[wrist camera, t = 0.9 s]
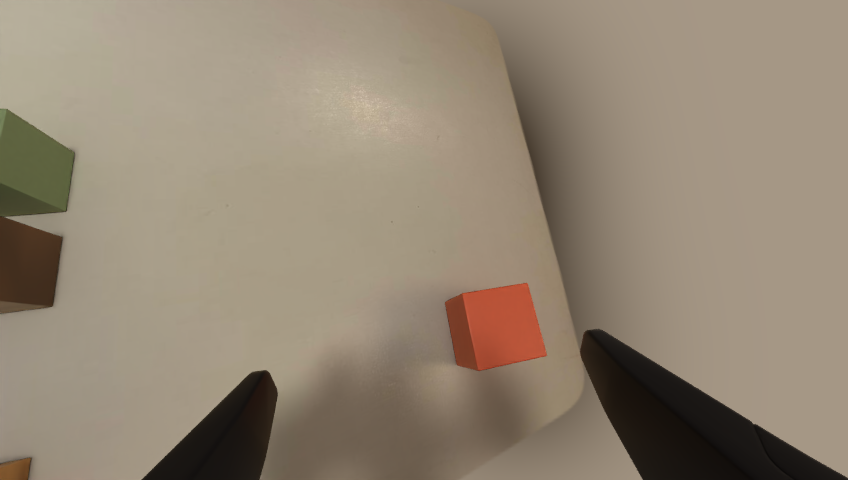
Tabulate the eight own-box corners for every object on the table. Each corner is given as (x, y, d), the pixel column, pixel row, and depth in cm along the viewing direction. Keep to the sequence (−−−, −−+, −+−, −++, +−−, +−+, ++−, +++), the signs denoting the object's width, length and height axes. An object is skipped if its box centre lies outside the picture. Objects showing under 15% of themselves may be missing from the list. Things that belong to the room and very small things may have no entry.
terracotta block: (514, 353, 26) (547, 355, 21) (457, 365, 25) (478, 371, 20) (500, 292, 27) (527, 282, 23) (444, 301, 26) (461, 293, 21)
